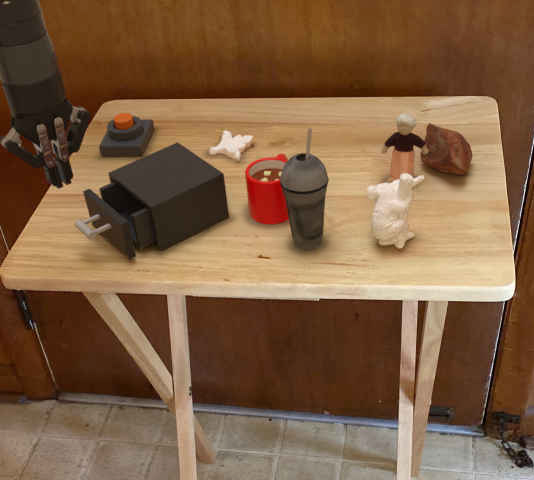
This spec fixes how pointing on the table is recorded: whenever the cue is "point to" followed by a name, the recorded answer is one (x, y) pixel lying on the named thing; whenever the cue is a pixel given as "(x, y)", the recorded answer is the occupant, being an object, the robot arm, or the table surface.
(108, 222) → the drawer
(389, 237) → the white rabbit figurine
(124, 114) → the button
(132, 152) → the control block
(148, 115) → the table surface
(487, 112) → the table surface
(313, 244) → the beverage cup
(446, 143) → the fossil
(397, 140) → the grandmother figurine
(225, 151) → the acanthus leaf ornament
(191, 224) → the cabinet
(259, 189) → the mug
